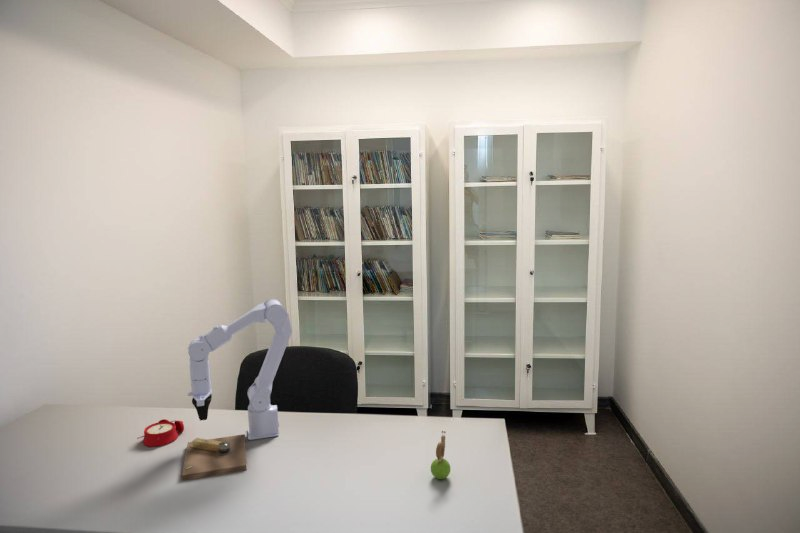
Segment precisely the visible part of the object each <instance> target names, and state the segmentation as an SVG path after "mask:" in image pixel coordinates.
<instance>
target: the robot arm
mask: <svg viewBox="0 0 800 533" xmlns="http://www.w3.org/2000/svg"><path fill="white" fill-rule="evenodd" d="M266 321H267V322H269V323H270V325H272V327H273V329H274V330H275V331H274V334H273V337H272V339H271V342H270V344H269V347H268V350H267V352H266V355H265V358H264V360H263V363H262V366H261V368H260V370H259V373H258V375H257V377H255V379H254V382H253V383H252V384H251V386H249V387H248V388H247V397H248V400H249V404H248V406H247V419H248V428H247V438H248V441H252V440H259V439H266V438H274V437H279V435H280V434H279V433H280V432H279V430H280V429H279V428H280V423H279V419H278V418H279V416H278V412H279V411H278V405H277V404H275V405H273V404H271V394H272V389H273V382H274V379H275V377H276V374H277V371H278V369H279V366H280V364H281V361H282V358H283V356H284V354H285V350H286V348H287V345H288V344H289V341H290V338H291V335H292V332H293V329H292V325H291V321H290V314H289V313H288V312H287V310H286V308H285V307H284V306H283V305H282V302H280V301H279V300H278V299H276V298H270V299H267V300H266V301H264V302H261V303H259V304H257V305H256V306H255V307H253V308H252V309H250V310H249V311H247V312H245V313H244V314H242V315H241V316H240V317H238V318H237V319H235V320H233V321H232V322H230V323H229V324H228V325H223V324H220V325H219V326H218V325H214V326H213V327H212V329H211V330H210V331H208V332H207V333H205V334H204V335H202V334H200V335H198V338H194V339H192V340H191V341H190V342H189V344H188V348H187V350H188V356H189V376H190V377H189V378H190V388H191V390H190V391H188V392H187V396H189V397H190V396H191V397H192V399H191V404H192V405H193V406H194V407H195V410H196V412H197V416H198V419H199V421H206V420H208V416H209V406H210V405H211V402H212V396H213V395H212V394H213V389H212V382H211V380H212V379H211V369H210V368H211V367H210V361H209V354H210V353H212V352H214V351H216V350H218V349H219V348H221V347H222V346H224V345H226V344H228V342H230V341H232V337H233V335H234V334H237V333H238V332H240V331H242V330H243V329H245V328H247V327H249V326H251V325H253V324H255V323H260V324H261V323H262V324H265V323H266Z"/></svg>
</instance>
